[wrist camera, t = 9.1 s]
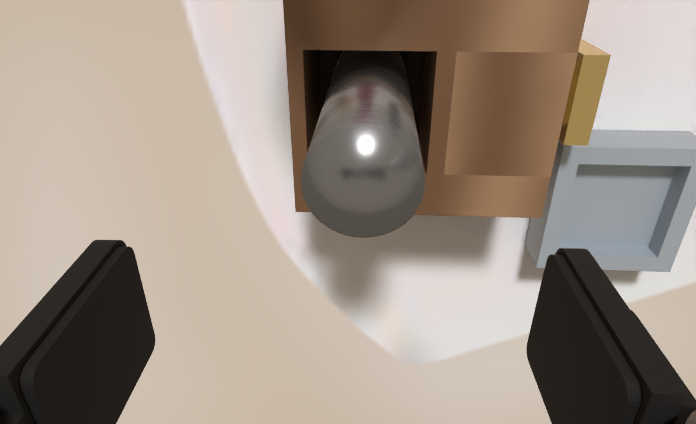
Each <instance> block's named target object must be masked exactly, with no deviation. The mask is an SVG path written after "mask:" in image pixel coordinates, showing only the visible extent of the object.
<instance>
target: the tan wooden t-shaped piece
mask: <svg viewBox="0 0 696 424" xmlns="http://www.w3.org/2000/svg"><path fill="white" fill-rule="evenodd" d="M610 56H611V55H610V54H608V53H606V52H604V51H602V50H600V49H599V48H597V47H595V46H593V45H591V44H589V43H587V42H586V41H584V40H582V39H581V41H580V45H579V50H578V54H577V59H576V63H575V68H574V73H573V77H572V82H571V86H570V91H569V95H568V100H567V104H566V109H565V114H564V118H563V123H562V127H561V132H560V136H559V140H560V142H561V143H562V144H563V145H587V146H588V143H589V139H590V135H591V131H592V127H593V123H594V119H595V115H596V111H597V107H598V104H599V100H600V96H601V92H602V88H603V84H604V80H605V76H606V72H607V68H608V64H609V60H610Z"/></svg>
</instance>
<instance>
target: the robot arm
mask: <svg viewBox="0 0 696 424" xmlns="http://www.w3.org/2000/svg"><path fill="white" fill-rule="evenodd" d="M154 346H155V335H154V330H153V326H152V322H151V318H150V314H149V310H148V306H147V302H146V298H145V294H144V290H143V286H142V282H141V278H140V274H139V270H138V266H137V262H136V258H135V254H134V251H133V249H132V248H131V247H127V246H126V244H125V243H124V242H123V241H121V240H95V241H93V242H92V243H91V244H90V245H89V246H88V248H87V249H86V250H85V251H84V252H83V253H82V254H81V255H80V257H79V258H78V259H77V260H76V261H75V262H74V263H73V264H72V266H71V267H70V268H69V269H68V270H67V271H66V272H65V273H64V275H63V276H62V277H61V278H60V279H59V280H58V281H57V283H56V284H55V285H54V286H53V287H52V288H51V289H50V290H49V292H48V293H47V294H46V295H45V296H44V297H43V298H42V300H41V301H40V302H39V303H38V304H37V305H36V306H35V307H34V308H33V310H32V311H31V312H30V313H29V314H28V315H27V316H26V318H25V319H24V320H23V321H22V322H21V323H20V324H19V325H18V326H17V328H16V329H15V330H14V331H13V332H12V333H11V334H10V335H9V337H8V338H7V339H6V340H5V341H4V342H3V343H2V345H1V346H0V424H116V422H117V421H118V419H119V417H120V415H121V413H122V411H123V409H124V407H125V405H126V403H127V401H128V399H129V397H130V395H131V393H132V391H133V389H134V387H135V385H136V383H137V381H138V379H139V378H140V376H141V373H142V372H143V370H144V368H145V366H146V364H147V362H148V360H149V358H150V356H151V354H152V352H153V349H154ZM527 357H528V361H529V364H530V366H531V369H532V372H533V374H534V377H535V380H536V382H537V385H538V388H539V390H540V393H541V396H542V398H543V401H544V404H545V406H546V409H547V412H548V414H549V417H550V420H551V422H552V424H696V400H695V398H694V397H693V395H692V394H691V392H690V391H689V390H688V388H687V387H686V385H685V384H684V382H683V381H682V380H681V378H680V377H679V376H678V374H677V373H676V371H675V370H674V368H673V367H672V366H671V364H670V363H669V361H668V360H667V358H666V357H665V355H664V354H663V353H662V351H661V350H660V348H659V347H658V345H657V344H656V343H655V341H654V340H653V338H652V337H651V335H650V334H649V333H648V331H647V330H646V329H645V327H644V326H643V324H642V323H641V321H640V320H639V318H638V317H637V316H636V315H635V313H634V312H633V311H631V310H630V309H629V308H628V306H627V305H626V303H625V302H624V300H623V299H622V298H621V296H620V295H619V293H618V292H617V290H616V289H615V288H614V286H613V285H612V283H611V282H610V280H609V279H608V277H607V276H606V275H605V273H604V272H603V270H602V269H601V267H600V266H599V265H598V263H597V262H596V260H595V259H594V257H593V256H592V254H591V253H590V252H589V251H588V250H587V249H581V248H559V249H558V250H557V251H556V253H555V254H551V255H549V256H548V258H547V261H546V265H545V270H544V274H543V278H542V282H541V287H540V291H539V295H538V300H537V304H536V308H535V312H534V317H533V321H532V325H531V329H530V334H529V338H528V343H527Z"/></svg>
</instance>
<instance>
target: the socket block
mask: <svg viewBox="0 0 696 424" xmlns="http://www.w3.org/2000/svg"><path fill="white" fill-rule="evenodd" d="M588 4H589V0H283V7H284V24H285V41H286V57H287V74H288V91H289V107H290V124H291V141H292V158H293V174H294V191H295V208H296V212H311V211H310V209H309V208H308V206H307V204H306V202H305V199H304V197H303V193H302V188H301V173H302V168H303V165H304V162H305V159H306V156H307V153H308V150H309V147H310V143H311V140H312V137H313V134H314V131H315V128H316V125H317V122H318V119H319V116H320V113H321V110H322V90H321V53H320V50H358V51H422V58H421V72H420V86H419V101H418V115H417V124H416V129H417V135H418V140H419V146H420V151H421V157H422V163H423V168H424V174H425V190H424V195H423V198H422V201H421V203H420V205H419V207H418V209H417V211H416V212H415V213H414V215H445V216H484V217H524V218H542V214H543V209H544V205H545V200H546V196H547V191H548V186H549V182H550V177H551V173H552V168H553V164H554V159H555V155H556V150H557V145H558V141H559V136H560V132H561V127H562V123H563V118H564V114H565V109H566V104H567V100H568V95H569V91H570V86H571V82H572V77H573V73H574V68H575V63H576V59H577V54H578V50H579V45H580V41H581V36H582V32H583V27H584V22H585V18H586V13H587V9H588Z"/></svg>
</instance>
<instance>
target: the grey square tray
mask: <svg viewBox="0 0 696 424" xmlns="http://www.w3.org/2000/svg"><path fill="white" fill-rule="evenodd" d="M695 206H696V135H694V134H693V133H691V132H678V131H621V130H592V131H591V135H590V139H589V143H588V146H587V145H563V144H562V143H561V142H560V140H559V141H558V145H557V150H556V155H555V159H554V164H553V168H552V173H551V177H550V182H549V186H548V191H547V196H546V200H545V205H544V209H543V214H542V218H530V223H529V228H528V233H527V238H526V242H525V245H526V247H527V249H528V251H529V253H530V255H531V258H532V260H533V262H534V264H535V266H536V268H545V265H546V261H547V258H548V256H549V255H551V254H555V253H556V251H557V250H558V249H559V248H581V249H587V250H588V251H589V252H590V253H591V254H592V256H593V257H594V259H595V260H596V262H597V263H598V265H599V266H600V267H601V269H602V270H622V271H656V272H670V270H671V267H672V265H673V262H674V260H675V257H676V254H677V252H678V249H679V247H680V244H681V242H682V239H683V236H684V234H685V231H686V229H687V226H688V224H689V221H690V218H691V216H692V213H693V211H694V208H695Z"/></svg>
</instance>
